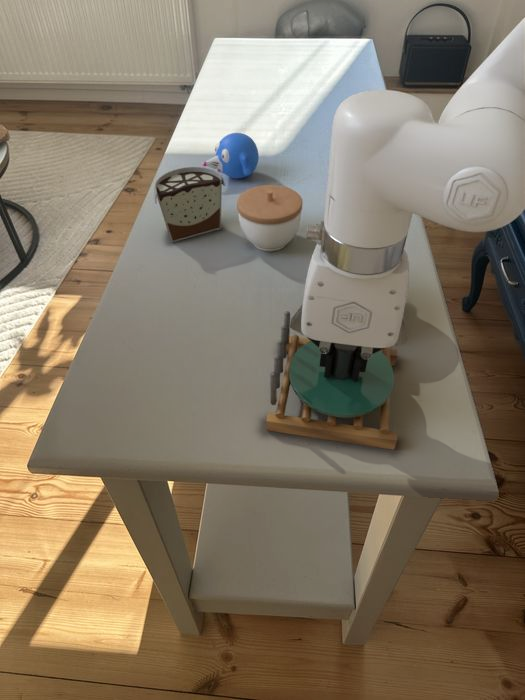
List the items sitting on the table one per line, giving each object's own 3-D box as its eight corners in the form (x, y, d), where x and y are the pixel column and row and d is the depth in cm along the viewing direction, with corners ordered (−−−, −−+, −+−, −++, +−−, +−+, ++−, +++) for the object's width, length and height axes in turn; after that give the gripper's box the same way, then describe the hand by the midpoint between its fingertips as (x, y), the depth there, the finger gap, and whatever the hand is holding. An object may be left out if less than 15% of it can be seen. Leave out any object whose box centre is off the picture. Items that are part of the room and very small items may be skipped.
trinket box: (247, 264, 80) (245, 214, 73) (233, 229, 87) (229, 180, 80) (309, 253, 82) (312, 203, 75) (289, 219, 89) (291, 171, 82)
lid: (392, 347, 62) (402, 313, 58) (392, 428, 54) (402, 395, 50) (296, 335, 64) (298, 301, 60) (281, 412, 56) (282, 379, 51)
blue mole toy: (193, 172, 102) (188, 131, 96) (244, 159, 105) (242, 119, 99) (216, 198, 94) (212, 156, 88) (269, 183, 98) (269, 142, 92)
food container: (215, 210, 91) (210, 159, 84) (228, 226, 88) (224, 174, 80) (153, 227, 88) (142, 175, 80) (163, 244, 84) (153, 192, 77)
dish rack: (394, 359, 65) (407, 314, 59) (394, 449, 56) (409, 407, 49) (284, 345, 67) (286, 300, 61) (266, 430, 58) (265, 387, 52)
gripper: (269, 257, 43) (269, 385, 57) (456, 276, 41) (410, 405, 54) (282, 212, 48) (280, 340, 62) (450, 227, 46) (409, 356, 59)
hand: (341, 369), depth 58 cm, fingers closed on lid, 2 cm apart
